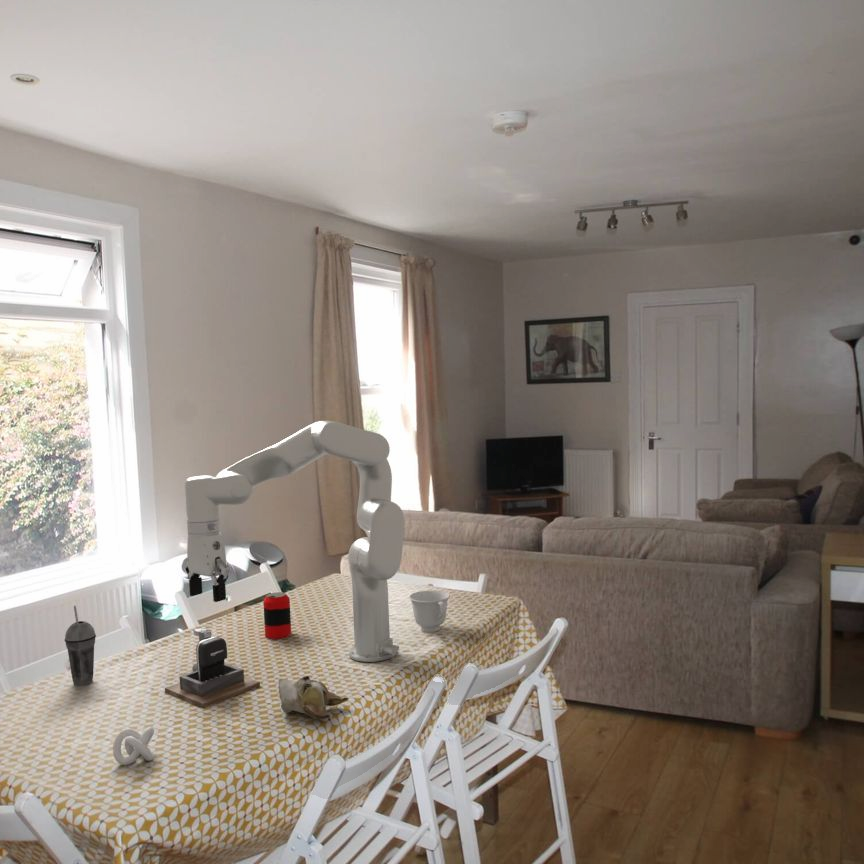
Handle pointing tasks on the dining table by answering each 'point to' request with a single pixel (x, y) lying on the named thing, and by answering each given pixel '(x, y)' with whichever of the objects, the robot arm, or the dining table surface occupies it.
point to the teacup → (429, 609)
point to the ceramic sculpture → (307, 697)
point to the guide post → (202, 635)
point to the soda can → (277, 615)
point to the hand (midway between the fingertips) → (207, 597)
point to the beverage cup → (81, 651)
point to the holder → (212, 687)
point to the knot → (133, 745)
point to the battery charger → (211, 658)
